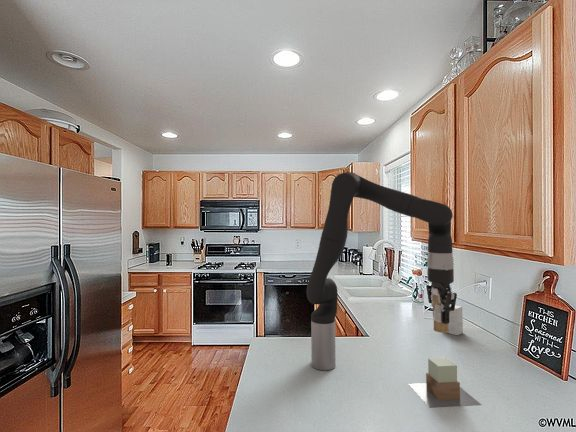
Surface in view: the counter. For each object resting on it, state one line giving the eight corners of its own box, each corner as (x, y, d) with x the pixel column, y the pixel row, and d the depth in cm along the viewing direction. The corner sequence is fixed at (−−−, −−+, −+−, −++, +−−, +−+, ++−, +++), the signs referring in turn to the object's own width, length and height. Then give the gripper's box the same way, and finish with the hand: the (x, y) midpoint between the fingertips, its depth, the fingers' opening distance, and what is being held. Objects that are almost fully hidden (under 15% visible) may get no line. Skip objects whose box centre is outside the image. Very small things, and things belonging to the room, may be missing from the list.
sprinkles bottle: (436, 327, 106) (435, 286, 107) (451, 331, 103) (450, 288, 103) (431, 331, 103) (430, 288, 103) (446, 334, 100) (445, 290, 100)
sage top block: (428, 373, 105) (428, 358, 106) (446, 372, 106) (445, 357, 106) (438, 382, 99) (438, 366, 100) (457, 381, 100) (456, 365, 100)
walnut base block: (426, 388, 106) (426, 373, 106) (446, 387, 106) (446, 372, 106) (438, 400, 99) (437, 383, 99) (460, 399, 99) (459, 382, 100)
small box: (463, 332, 161) (462, 306, 162) (457, 335, 157) (457, 308, 158) (446, 328, 168) (446, 303, 168) (440, 331, 164) (440, 305, 164)
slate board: (408, 387, 109) (408, 384, 109) (453, 384, 110) (453, 381, 110) (429, 411, 95) (429, 407, 95) (481, 408, 96) (481, 404, 96)
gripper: (418, 264, 110) (418, 314, 110) (441, 270, 96) (442, 328, 96) (439, 263, 111) (440, 314, 111) (465, 269, 97) (466, 327, 96)
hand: (441, 320), depth 103 cm, fingers closed on sprinkles bottle, 4 cm apart
